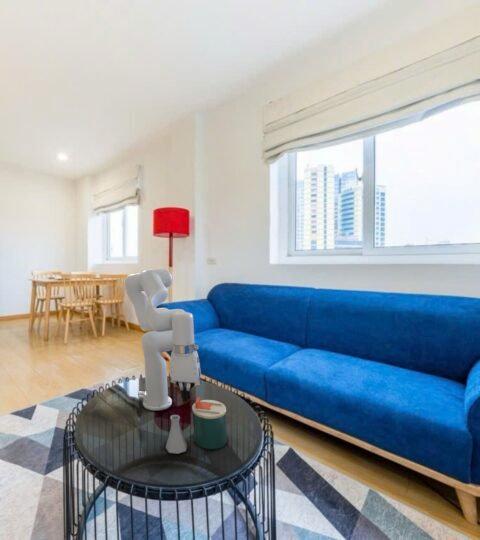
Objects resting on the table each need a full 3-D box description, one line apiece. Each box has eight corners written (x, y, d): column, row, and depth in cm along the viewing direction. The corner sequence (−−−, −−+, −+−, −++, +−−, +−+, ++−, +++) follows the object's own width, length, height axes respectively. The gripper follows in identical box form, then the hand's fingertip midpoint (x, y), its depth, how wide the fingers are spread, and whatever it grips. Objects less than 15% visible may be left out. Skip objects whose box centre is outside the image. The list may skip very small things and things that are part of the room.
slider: (195, 408, 97) (195, 402, 97) (198, 403, 101) (197, 396, 101) (209, 410, 96) (209, 404, 96) (211, 404, 100) (211, 398, 100)
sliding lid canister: (190, 446, 95) (188, 412, 94) (197, 427, 105) (195, 396, 105) (225, 452, 91) (223, 416, 91) (229, 431, 102) (227, 400, 101)
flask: (164, 441, 98) (163, 412, 98) (185, 439, 98) (184, 410, 98) (166, 455, 91) (165, 424, 90) (189, 453, 91) (188, 422, 91)
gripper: (207, 346, 101) (209, 398, 101) (166, 344, 106) (169, 393, 106) (203, 352, 94) (205, 408, 94) (160, 350, 99) (162, 403, 99)
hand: (186, 400), depth 100 cm, fingers closed
